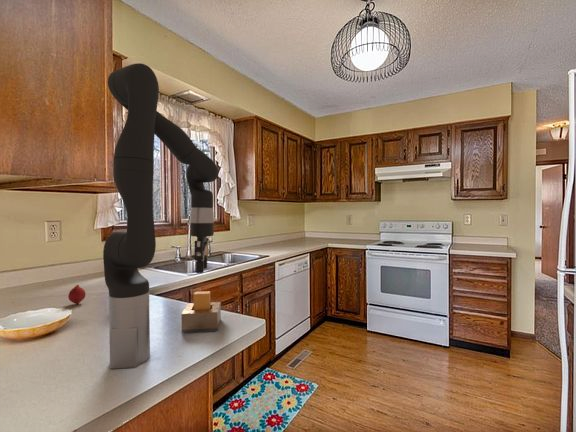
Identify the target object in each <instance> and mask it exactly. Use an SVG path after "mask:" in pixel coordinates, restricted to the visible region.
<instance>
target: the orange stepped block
mask: <svg viewBox="0 0 576 432" xmlns="http://www.w3.org/2000/svg"><path fill="white" fill-rule="evenodd" d="M193 303H194V310H207V309H211V291H210V290H208V291H207V290H206V291H204V290H203V291H195V292H194V293H193Z"/></svg>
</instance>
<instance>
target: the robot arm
mask: <svg viewBox="0 0 576 432" xmlns="http://www.w3.org/2000/svg"><path fill="white" fill-rule="evenodd" d="M159 86H160V85H159V81H158V78H157V76H156V74H155V72H154V71H153V69H152V68H151V67H150V66H149V65H147V64H144V63H131V64H129V65H126V66H123V67H121V68H118V69H116V70H114V71H112V72H111V73H110V74H109V75H108V78H107V87H108V90H109V92H110V94H111V95H112V96H113V98H114V100H116V101H117V102H118V103H119V104H120V105H121V107H123V108H124V109H126V110H127V115H126V121H125V124H124V126H123V128H122V131H121V133H120V135H119V137H118V140H117V142H116V145H115V148H114V153H113V167H112V169H113V171H112V173H113V181H114V184H115V187H116V189H117V191H118V194H119V196H120V197H121V200H122V202H123V205H124V207H125V211H126V230H116V231H114V232H112V233H111V234H110V235H109V234H108V237H107V238H106V239H105V241H104V245H103V252H102V253H103V254H102V258H103V259H102V260H103V272H104V282H105V286H106V287H107V289H108V321H109V322H108V323H109V327H108V328H109V329H108V330H109V331H108V332H109V333H108V335H109V336H108V337H109V339H108V340H109V368H110V369H111V370H112V369H113V370H114V369H126V368H127V369H128V368H138V366H139V365H140V364H143V363H145V362H146V361H148V360H149V359H150V357H151V343H150V342H151V338H150V337H151V334H150V333H151V331H150V329H151V328H150V324H151V323H150V318H151V317H150V282H149V280H148V279H147V278H145V277H144V276H143V275H142V274H141V273H140V271H139V269H140V268H145V267H147V266H149V265H150V264H151V263H152V261H153V259H154V257H155V253H156V248H157V246H156V245H157V244H156V230H155V220H154V219H155V217H154V173H155V172H154V171H155V170H154V168H155V165H154V164H155V156H154V155H155V153H154V150H155V136H156V137H157V138H158V139H159V140H160V141H161V142H162V143H163V145H165V146H166V148H167V149H168V150H169V151H170V152H171V154H172V155H173V156H174V157H175V158H176V159H177V160H178V161H179V163H181V164H182V165H187V168H186V172H185V176H186V180H187V181H186V182H187V184H188V189H189V192H190V202H191V203H190V214H189V215H190V216H189V217H190V218H189V224H190V225H189V235H190V236H191V237H196V240H194V242H193V243H194V255H193V256H194V258H193V259H194V261H195V272H196V273H197V274H203V273H204V269H208V257H209V246H210V242H209V241H210V240H209V237H213V236H214V233H215V229H214V227H215V220H214V219H215V214H214V195H213V192H212V191H211V190H208V189H206V188H205V185H204V183H212V182H214V181H216V180H217V179H218V176H219V168H218V166H217V164H216V162H215V161H214V160H213V159H212V158H211V157H209V156H208V155H207V154H206V153H205V152H203V151H202V150H201V149H199V148H198V147H197V146H196V144H195V143H194V142H193V140H192V139H191V138H190V136H189V135H188V134H187V133H186V132H185V131H184V129H182V128H181V127H180V126H179V125H177V124H176V123H174V122H173V121H171V120H170V119H168V118H167V117H165V116H164V115H163V114H161V113H160V112H159V111H158V103H159V96H160V94H159V93H160V89H159V88H160V87H159Z"/></svg>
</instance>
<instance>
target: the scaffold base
mask: <svg viewBox="0 0 576 432" xmlns="http://www.w3.org/2000/svg"><path fill="white" fill-rule="evenodd" d="M221 311H222V309H221V301H215V302H213V301H212V302H211V309H207V310H194V302H191V303H189V302H188V303H187V305H186V306H185V308H184V309H183V310H182V313H181V334H182V333H184V334H199V332H203V333H217V332H216V331H219V327H220V324H221V319H222V318H221V314H222V313H221ZM197 332H198V333H197Z"/></svg>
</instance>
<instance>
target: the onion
mask: <svg viewBox="0 0 576 432" xmlns="http://www.w3.org/2000/svg"><path fill="white" fill-rule="evenodd" d="M86 294H87V293H86V290H85V289H84V288H83V287H81V286H80V284H76V285H75V286H74V287H73V288H71V290H70V291H69V293H68V296H67V297H68V300H69V301H70V302H71V303H74V304H76V305H79V304H80V303H81V302H82V301H84V299H85V298H86Z"/></svg>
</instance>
